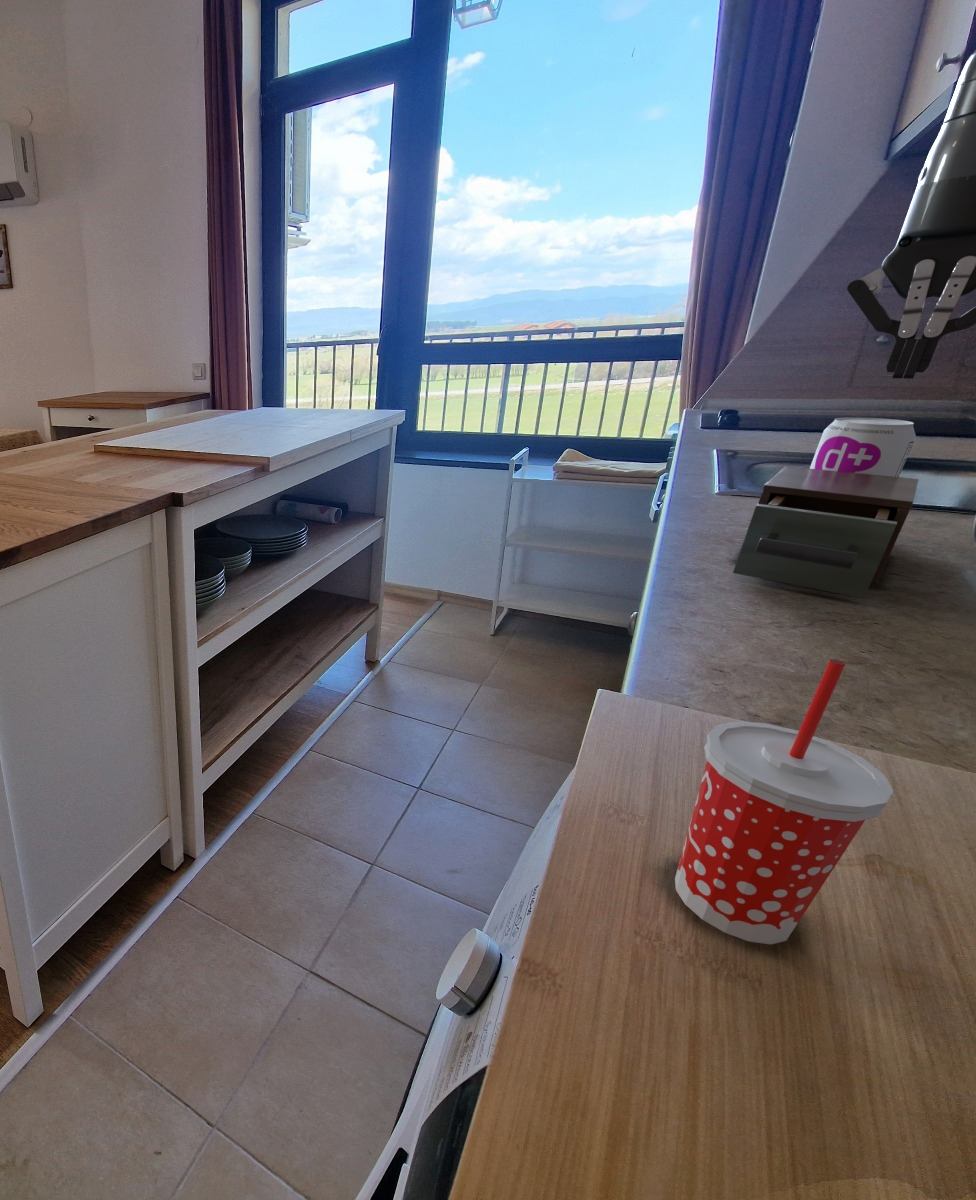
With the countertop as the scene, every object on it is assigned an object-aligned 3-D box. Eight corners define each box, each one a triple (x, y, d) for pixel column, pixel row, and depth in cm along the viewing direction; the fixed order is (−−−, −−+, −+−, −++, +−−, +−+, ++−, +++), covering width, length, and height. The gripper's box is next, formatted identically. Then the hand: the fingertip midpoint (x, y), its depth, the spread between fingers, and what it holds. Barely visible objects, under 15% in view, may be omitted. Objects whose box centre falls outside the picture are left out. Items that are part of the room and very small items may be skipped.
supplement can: (843, 547, 80) (893, 427, 74) (771, 529, 87) (811, 419, 81) (887, 540, 82) (939, 423, 76) (813, 524, 89) (855, 415, 83)
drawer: (858, 615, 60) (893, 537, 57) (720, 586, 67) (744, 516, 64) (874, 565, 71) (904, 499, 68) (755, 546, 79) (777, 484, 75)
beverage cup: (702, 844, 35) (790, 620, 30) (842, 931, 30) (980, 679, 25) (629, 879, 33) (710, 646, 28) (766, 979, 28) (899, 716, 23)
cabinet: (874, 588, 68) (913, 501, 64) (737, 563, 76) (764, 484, 72) (884, 556, 76) (918, 478, 73) (760, 537, 84) (785, 466, 81)
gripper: (1098, 163, 54) (1004, 375, 61) (876, 193, 63) (816, 374, 70) (1112, 151, 49) (1009, 382, 56) (871, 185, 59) (807, 380, 65)
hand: (902, 377), depth 63 cm, fingers closed
